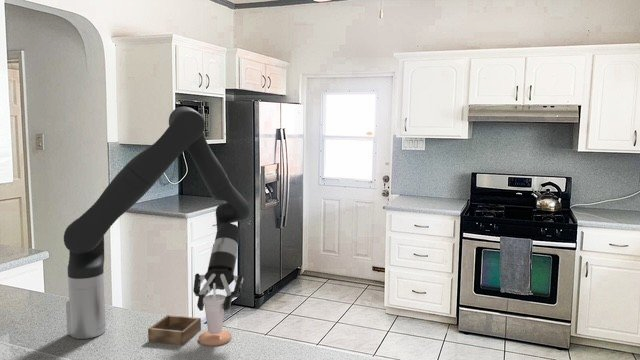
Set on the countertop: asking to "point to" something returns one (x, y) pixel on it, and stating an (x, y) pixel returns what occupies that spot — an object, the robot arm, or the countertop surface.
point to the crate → (173, 336)
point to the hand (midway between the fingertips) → (213, 309)
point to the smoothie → (214, 311)
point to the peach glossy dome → (215, 338)
